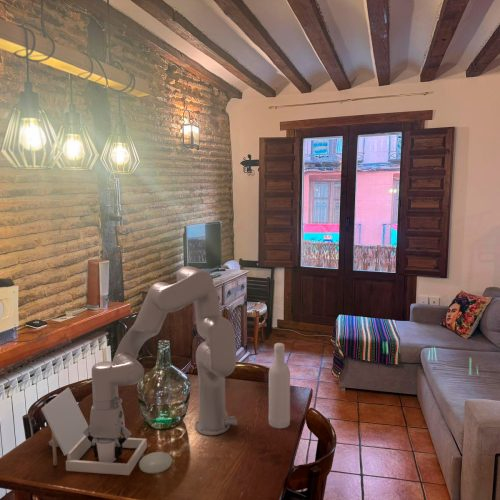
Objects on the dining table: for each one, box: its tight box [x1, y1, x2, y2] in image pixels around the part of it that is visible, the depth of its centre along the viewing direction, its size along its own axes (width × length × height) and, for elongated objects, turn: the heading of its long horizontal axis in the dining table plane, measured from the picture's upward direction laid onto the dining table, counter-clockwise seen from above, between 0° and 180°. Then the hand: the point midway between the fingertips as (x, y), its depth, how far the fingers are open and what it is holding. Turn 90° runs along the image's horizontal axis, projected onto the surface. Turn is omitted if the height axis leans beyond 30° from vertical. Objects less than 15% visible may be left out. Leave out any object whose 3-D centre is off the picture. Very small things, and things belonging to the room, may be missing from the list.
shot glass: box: [96, 438, 117, 463], centre depth 138 cm, size 7×7×7 cm
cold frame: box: [40, 387, 148, 476], centre depth 138 cm, size 27×15×20 cm, turn 83°
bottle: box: [267, 342, 291, 430], centre depth 158 cm, size 8×8×30 cm
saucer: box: [138, 451, 173, 474], centre depth 135 cm, size 10×10×1 cm
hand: (108, 455), depth 138 cm, fingers closed on shot glass, 6 cm apart
